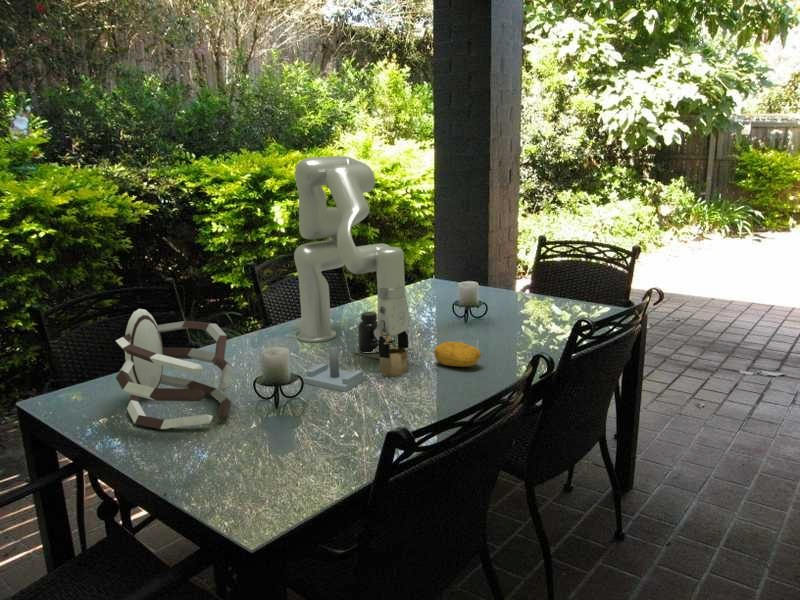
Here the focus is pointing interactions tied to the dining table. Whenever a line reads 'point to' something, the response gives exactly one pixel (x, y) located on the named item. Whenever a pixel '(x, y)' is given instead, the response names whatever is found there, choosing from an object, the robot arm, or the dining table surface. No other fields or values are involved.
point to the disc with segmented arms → (150, 357)
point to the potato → (457, 354)
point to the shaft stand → (334, 375)
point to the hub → (394, 362)
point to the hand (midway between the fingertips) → (394, 352)
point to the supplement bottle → (367, 332)
